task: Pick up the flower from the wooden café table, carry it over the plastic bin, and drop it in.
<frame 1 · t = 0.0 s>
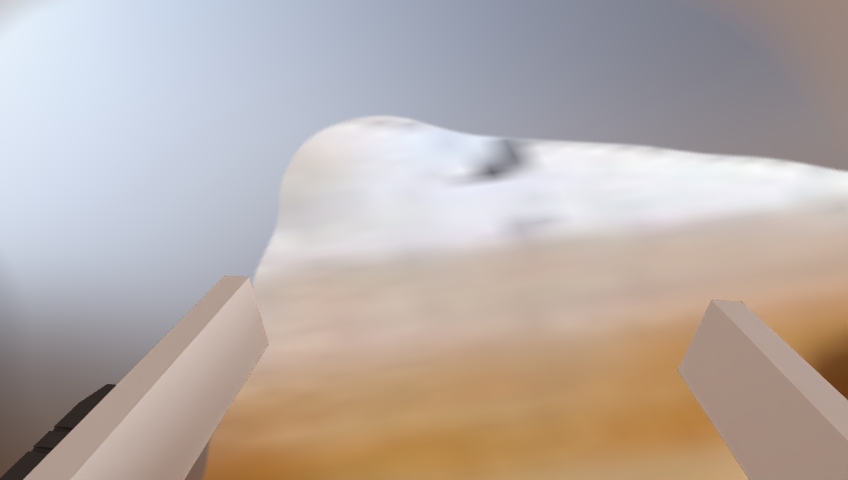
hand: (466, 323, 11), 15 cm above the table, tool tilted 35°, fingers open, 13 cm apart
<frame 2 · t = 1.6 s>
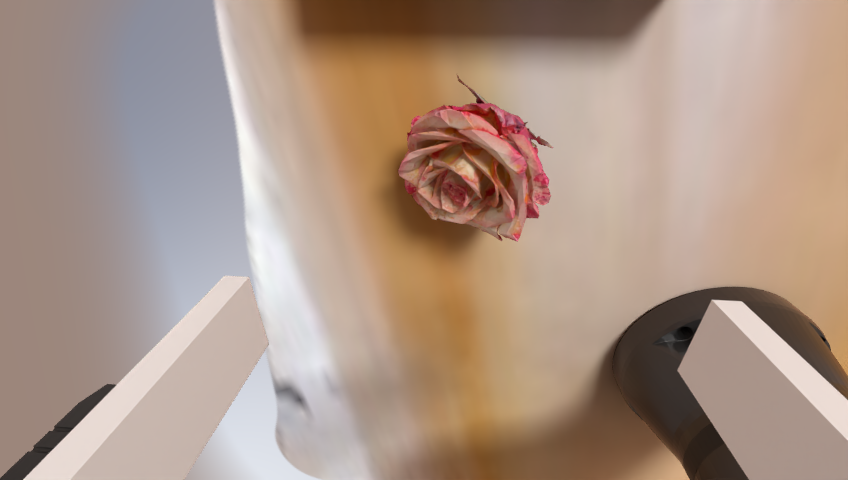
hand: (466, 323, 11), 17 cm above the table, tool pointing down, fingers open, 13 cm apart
flower: (466, 154, 25), on the table
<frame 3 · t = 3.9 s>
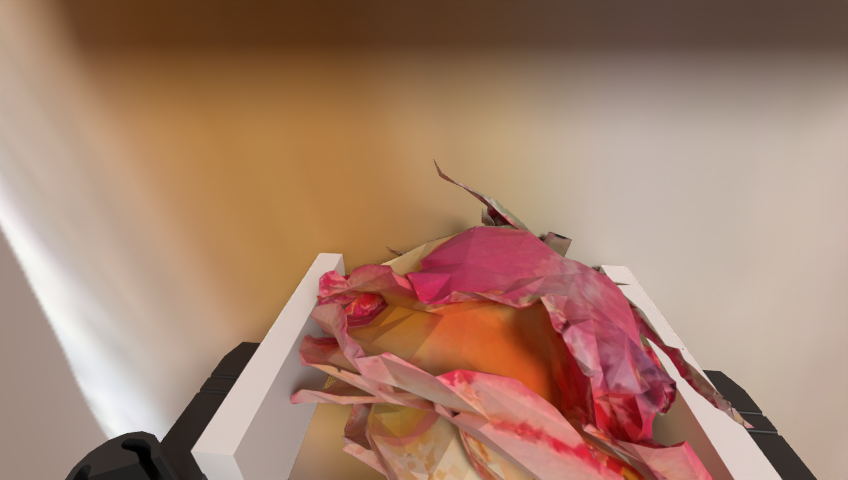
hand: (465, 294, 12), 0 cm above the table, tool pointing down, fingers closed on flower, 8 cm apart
flower: (466, 288, 12), on the table, touching gripper
when the fingers open (6 cm above the table, at t = 9.3 s): flower drops 5 cm, point 1 cm above the table.
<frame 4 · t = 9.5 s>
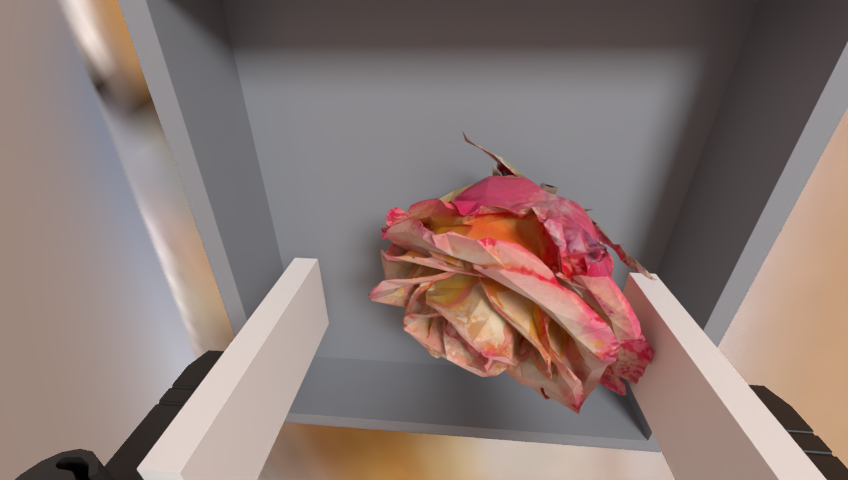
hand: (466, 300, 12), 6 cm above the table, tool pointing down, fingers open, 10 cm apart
flower: (480, 231, 16), point 1 cm above the table, touching gripper
bin: (463, 218, 17), on the table
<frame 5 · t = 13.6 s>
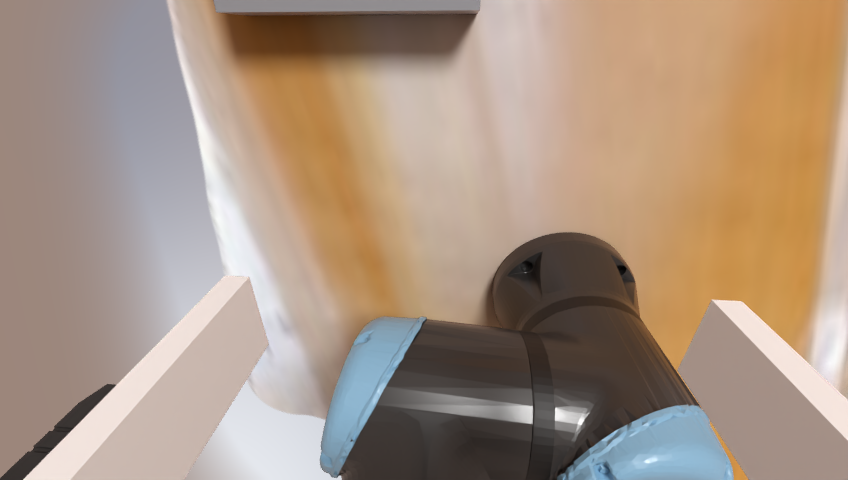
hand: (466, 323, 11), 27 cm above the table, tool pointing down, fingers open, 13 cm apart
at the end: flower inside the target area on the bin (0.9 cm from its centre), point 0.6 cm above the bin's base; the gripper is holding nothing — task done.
